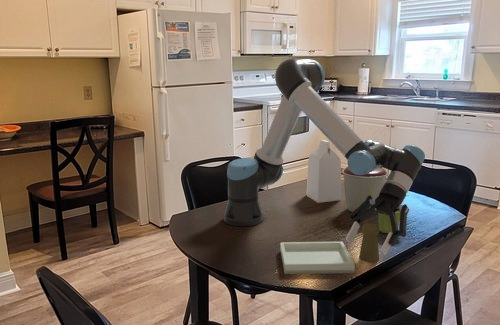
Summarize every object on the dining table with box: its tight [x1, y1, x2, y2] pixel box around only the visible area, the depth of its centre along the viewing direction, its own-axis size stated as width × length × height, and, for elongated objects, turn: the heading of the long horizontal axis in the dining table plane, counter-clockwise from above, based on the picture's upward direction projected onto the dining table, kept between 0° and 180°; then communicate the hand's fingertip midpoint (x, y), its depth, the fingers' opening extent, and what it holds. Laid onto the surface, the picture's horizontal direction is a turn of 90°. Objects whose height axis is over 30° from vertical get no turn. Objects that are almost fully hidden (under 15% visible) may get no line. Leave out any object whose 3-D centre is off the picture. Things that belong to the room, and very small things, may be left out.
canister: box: [341, 166, 389, 213], centre depth 177 cm, size 18×18×21 cm
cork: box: [358, 222, 380, 263], centre depth 134 cm, size 6×6×11 cm
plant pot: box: [377, 209, 400, 235], centre depth 156 cm, size 9×9×9 cm
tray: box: [279, 241, 356, 275], centre depth 132 cm, size 20×16×3 cm
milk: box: [305, 139, 342, 204], centre depth 195 cm, size 12×12×26 cm
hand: (364, 246), depth 132 cm, fingers open, 12 cm apart
